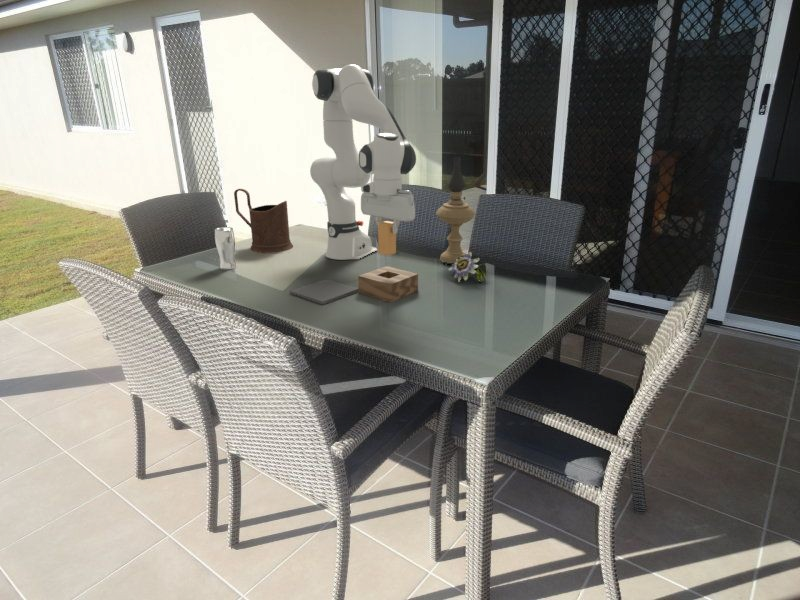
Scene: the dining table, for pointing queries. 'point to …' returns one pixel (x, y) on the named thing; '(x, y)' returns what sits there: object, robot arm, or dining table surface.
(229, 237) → the beer glass
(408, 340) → the dining table surface
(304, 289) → the mat
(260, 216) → the rusty metal jug
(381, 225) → the pin
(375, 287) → the socket block
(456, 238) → the oil lamp
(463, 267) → the passion flower
